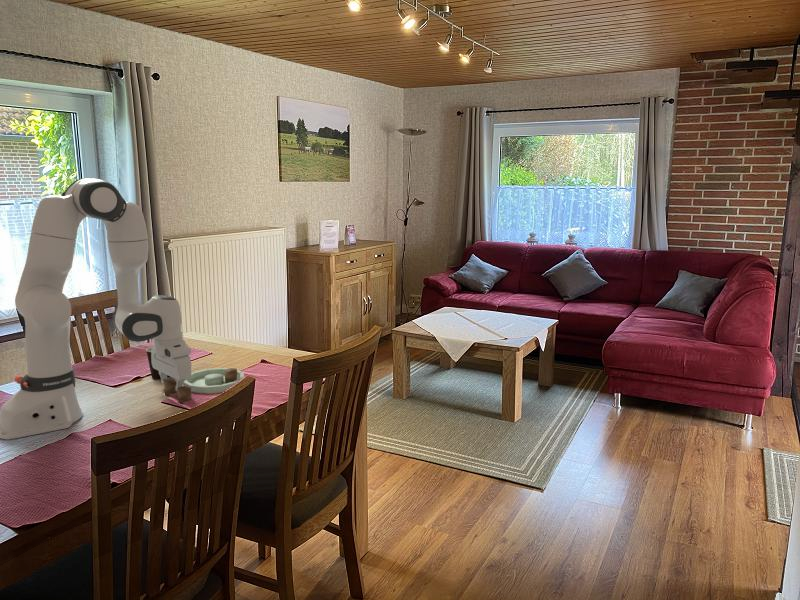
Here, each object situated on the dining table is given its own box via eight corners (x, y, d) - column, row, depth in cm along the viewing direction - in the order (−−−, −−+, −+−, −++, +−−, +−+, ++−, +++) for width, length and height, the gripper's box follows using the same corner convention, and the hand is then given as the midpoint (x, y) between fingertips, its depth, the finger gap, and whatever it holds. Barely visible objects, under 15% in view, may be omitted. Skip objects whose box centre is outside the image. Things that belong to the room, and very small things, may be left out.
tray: (202, 400, 195) (201, 391, 194) (172, 385, 209) (172, 376, 208) (256, 385, 209) (255, 376, 208) (225, 372, 222) (225, 363, 222)
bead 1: (168, 397, 197) (167, 384, 197) (162, 394, 200) (161, 381, 199) (180, 394, 200) (179, 381, 199) (174, 391, 203) (173, 378, 202)
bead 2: (182, 405, 191) (181, 391, 190) (175, 402, 194) (174, 388, 193) (194, 402, 194) (193, 388, 193) (188, 398, 197) (187, 385, 196)
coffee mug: (166, 381, 212) (164, 353, 210) (143, 379, 214) (140, 351, 212) (184, 370, 224) (182, 343, 222) (162, 369, 225) (160, 342, 223)
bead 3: (229, 385, 206) (228, 372, 205) (222, 382, 208) (222, 369, 208) (239, 383, 209) (239, 370, 208) (233, 380, 211) (232, 367, 210)
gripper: (144, 341, 202) (148, 382, 205) (174, 354, 188) (177, 398, 191) (163, 337, 206) (166, 377, 209) (193, 350, 193) (196, 392, 195)
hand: (172, 387), depth 200 cm, fingers open, 8 cm apart
